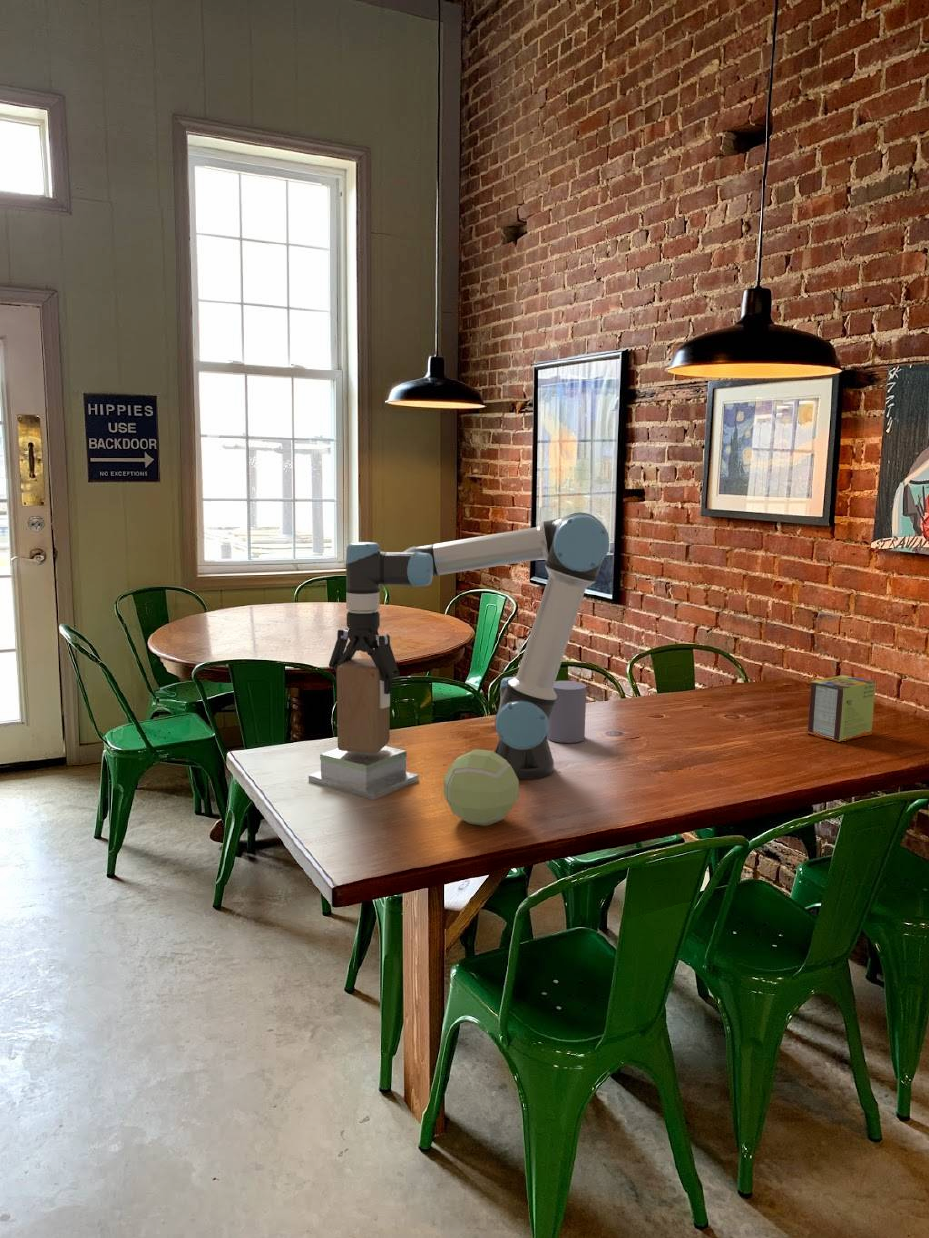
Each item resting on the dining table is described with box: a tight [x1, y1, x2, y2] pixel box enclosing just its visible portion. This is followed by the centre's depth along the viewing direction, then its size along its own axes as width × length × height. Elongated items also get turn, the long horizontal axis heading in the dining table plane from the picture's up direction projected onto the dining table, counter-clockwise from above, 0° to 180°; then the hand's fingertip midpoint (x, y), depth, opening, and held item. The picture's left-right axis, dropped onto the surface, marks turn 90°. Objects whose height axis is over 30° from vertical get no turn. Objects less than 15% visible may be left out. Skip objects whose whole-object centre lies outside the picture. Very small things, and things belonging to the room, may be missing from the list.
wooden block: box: [336, 657, 391, 753], centre depth 215 cm, size 10×10×20 cm
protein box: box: [807, 674, 877, 741], centre depth 261 cm, size 10×15×16 cm
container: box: [547, 680, 587, 744], centre depth 254 cm, size 10×10×15 cm
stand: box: [308, 745, 419, 801], centre depth 218 cm, size 20×16×7 cm
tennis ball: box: [443, 748, 520, 827], centre depth 193 cm, size 15×15×15 cm
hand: (363, 702), depth 215 cm, fingers closed on wooden block, 12 cm apart
